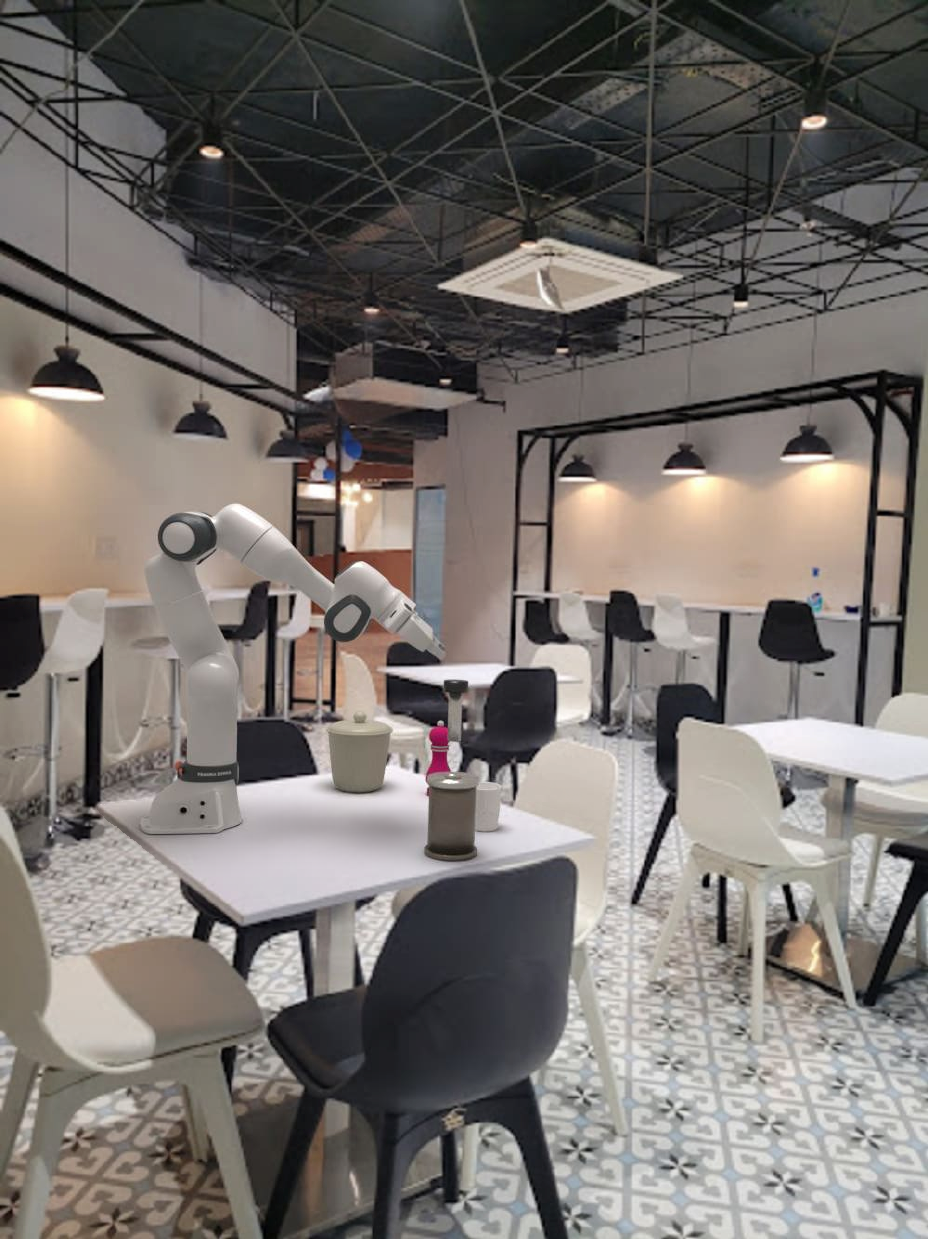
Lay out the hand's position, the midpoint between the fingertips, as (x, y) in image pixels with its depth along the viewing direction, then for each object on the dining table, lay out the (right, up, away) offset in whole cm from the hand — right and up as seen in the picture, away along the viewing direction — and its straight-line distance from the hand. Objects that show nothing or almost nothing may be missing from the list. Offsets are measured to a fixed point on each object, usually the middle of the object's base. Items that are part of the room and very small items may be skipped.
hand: (443, 653), depth 207 cm
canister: (-24, -38, +38) cm, 59 cm away
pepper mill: (-2, -39, +34) cm, 52 cm away
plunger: (+3, -18, -17) cm, 25 cm away
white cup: (+9, -41, +4) cm, 42 cm away
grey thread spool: (+2, -42, -16) cm, 45 cm away
